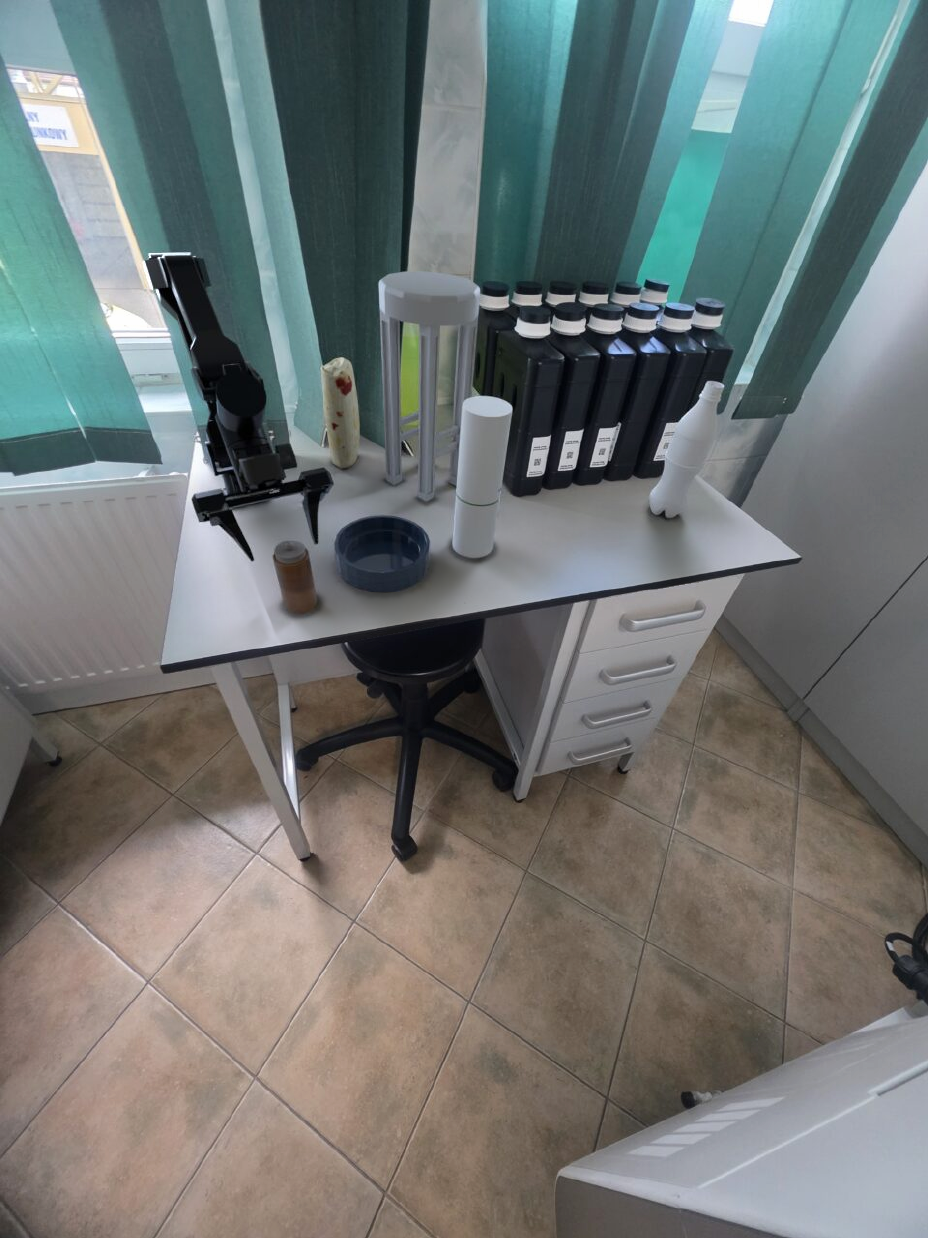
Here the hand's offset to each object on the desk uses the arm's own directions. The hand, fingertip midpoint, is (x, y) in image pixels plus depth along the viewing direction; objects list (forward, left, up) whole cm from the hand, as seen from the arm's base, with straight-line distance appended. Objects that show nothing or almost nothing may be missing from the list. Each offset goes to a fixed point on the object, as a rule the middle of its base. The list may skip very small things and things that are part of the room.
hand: (285, 552), depth 73 cm
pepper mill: (+3, 0, -8) cm, 8 cm away
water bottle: (+6, +73, -8) cm, 74 cm away
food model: (-36, +21, -8) cm, 42 cm away
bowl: (-1, +15, -8) cm, 17 cm away
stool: (-22, +33, -8) cm, 40 cm away
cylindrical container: (+1, +31, -8) cm, 32 cm away
